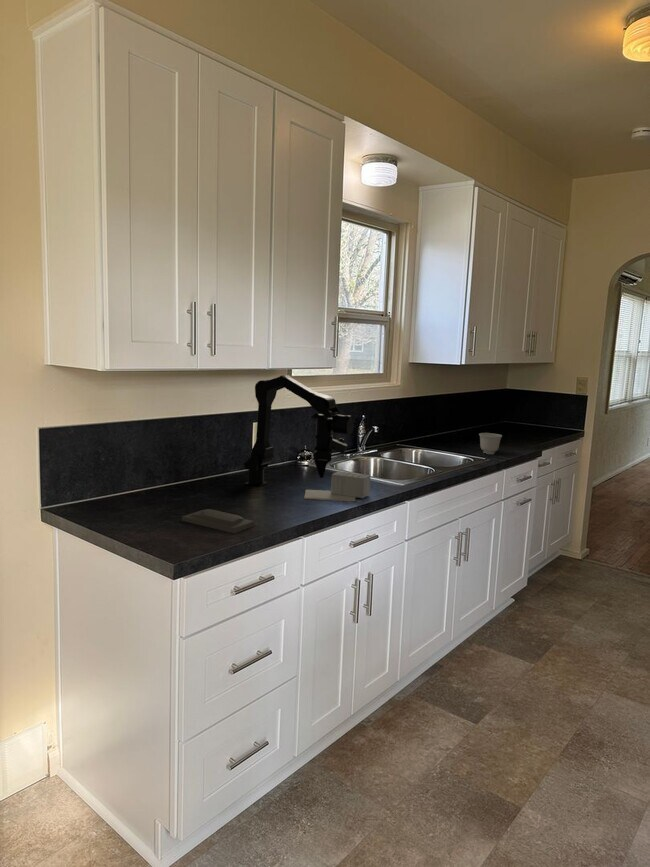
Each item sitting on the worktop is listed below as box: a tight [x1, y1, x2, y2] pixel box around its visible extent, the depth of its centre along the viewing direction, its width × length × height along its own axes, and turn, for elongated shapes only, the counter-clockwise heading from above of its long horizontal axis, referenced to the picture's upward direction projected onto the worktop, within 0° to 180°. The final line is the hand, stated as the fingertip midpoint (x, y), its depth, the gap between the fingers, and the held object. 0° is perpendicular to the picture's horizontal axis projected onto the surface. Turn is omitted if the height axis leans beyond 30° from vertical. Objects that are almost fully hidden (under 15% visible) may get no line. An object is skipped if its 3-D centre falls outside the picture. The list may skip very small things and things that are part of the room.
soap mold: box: [181, 508, 256, 534], centre depth 196 cm, size 10×20×4 cm, turn 59°
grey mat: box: [303, 489, 356, 502], centre depth 235 cm, size 18×12×1 cm, turn 89°
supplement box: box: [330, 470, 371, 499], centre depth 237 cm, size 7×7×13 cm
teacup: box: [478, 432, 503, 455], centre depth 343 cm, size 12×15×10 cm
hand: (321, 475), depth 234 cm, fingers open, 8 cm apart
